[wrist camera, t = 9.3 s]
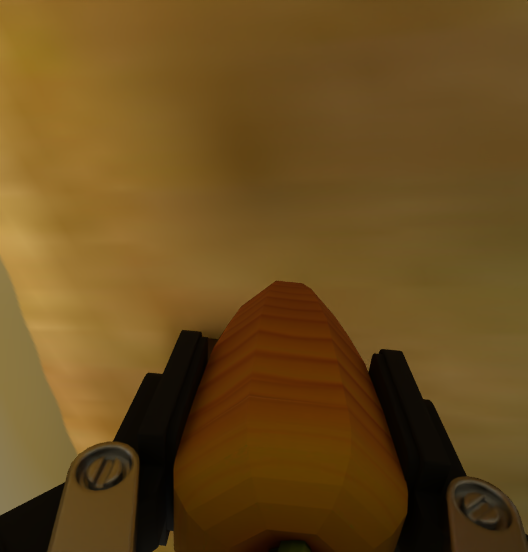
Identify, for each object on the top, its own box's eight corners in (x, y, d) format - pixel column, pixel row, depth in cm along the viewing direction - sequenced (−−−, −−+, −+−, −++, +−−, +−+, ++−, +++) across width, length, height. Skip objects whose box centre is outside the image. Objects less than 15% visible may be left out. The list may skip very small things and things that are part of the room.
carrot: (356, 324, 18) (562, 1018, 5) (248, 349, 19) (154, 1003, 5) (328, 218, 16) (539, 862, 3) (210, 251, 17) (-76, 875, 4)
